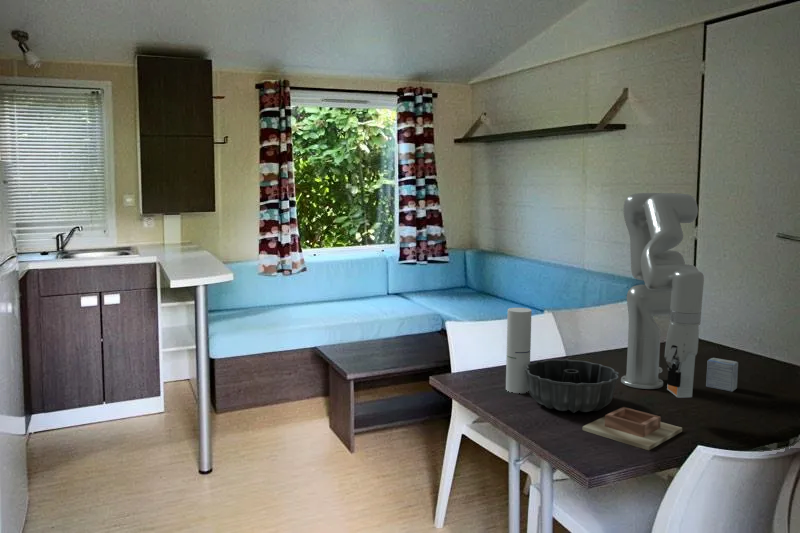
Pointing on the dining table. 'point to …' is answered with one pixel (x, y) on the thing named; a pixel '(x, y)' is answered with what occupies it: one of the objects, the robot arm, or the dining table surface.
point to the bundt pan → (571, 384)
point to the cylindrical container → (518, 349)
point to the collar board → (633, 428)
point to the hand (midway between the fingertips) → (680, 381)
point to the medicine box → (722, 374)
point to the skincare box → (685, 378)
